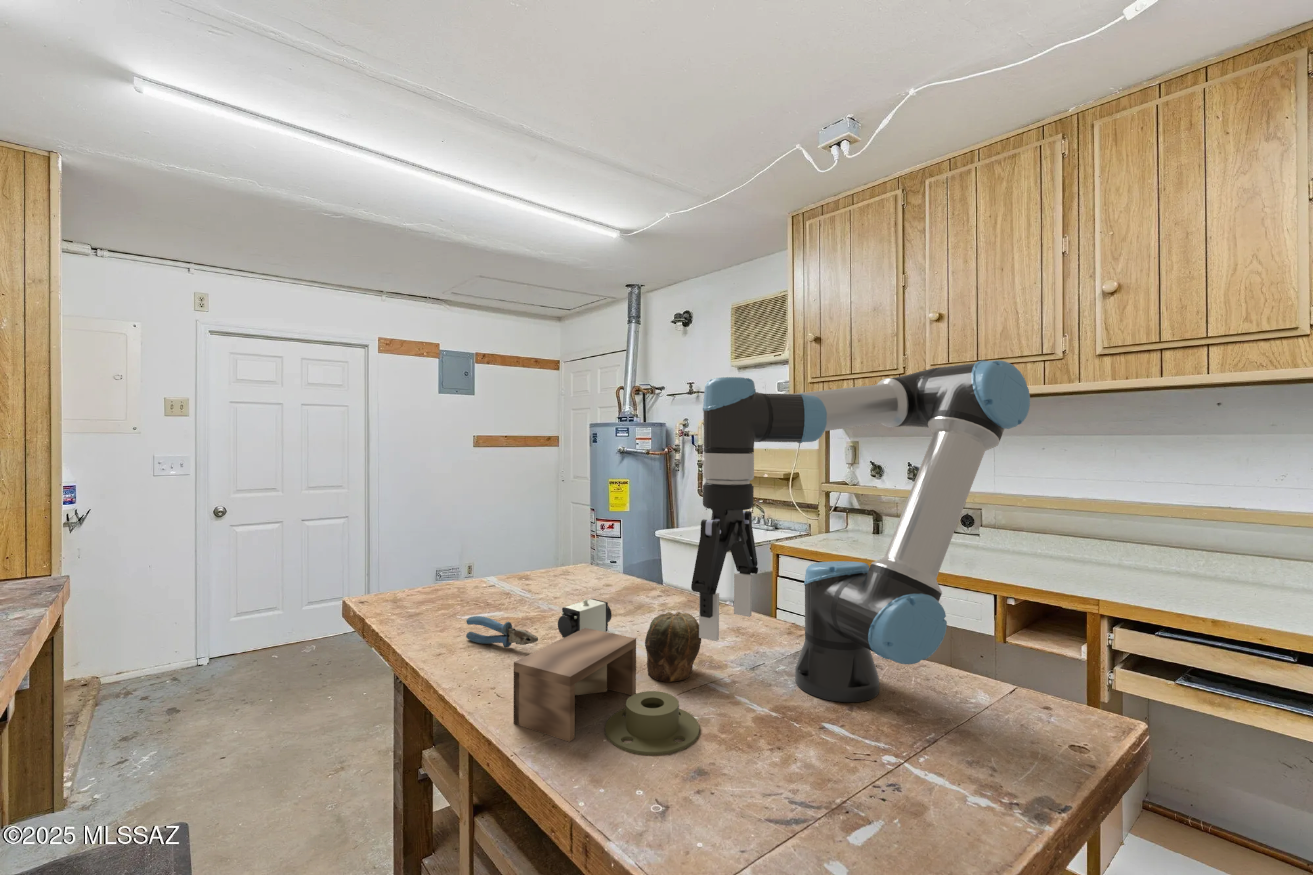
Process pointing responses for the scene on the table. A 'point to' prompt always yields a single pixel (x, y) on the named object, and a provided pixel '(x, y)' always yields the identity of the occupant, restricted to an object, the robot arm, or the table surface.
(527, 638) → the pliers
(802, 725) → the table surface
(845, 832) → the table surface
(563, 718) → the shelf
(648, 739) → the flange
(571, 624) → the pneumatic valve
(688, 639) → the green ball cactus
